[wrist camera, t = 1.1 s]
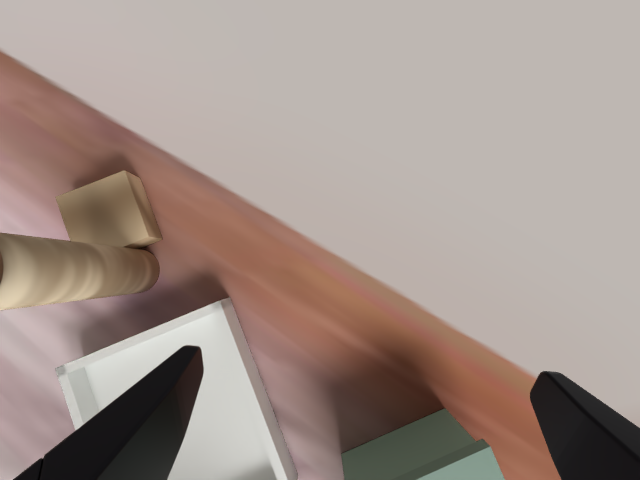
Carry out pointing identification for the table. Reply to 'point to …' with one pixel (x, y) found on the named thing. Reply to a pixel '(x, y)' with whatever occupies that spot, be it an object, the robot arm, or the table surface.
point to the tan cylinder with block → (85, 248)
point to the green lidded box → (423, 454)
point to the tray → (211, 403)
